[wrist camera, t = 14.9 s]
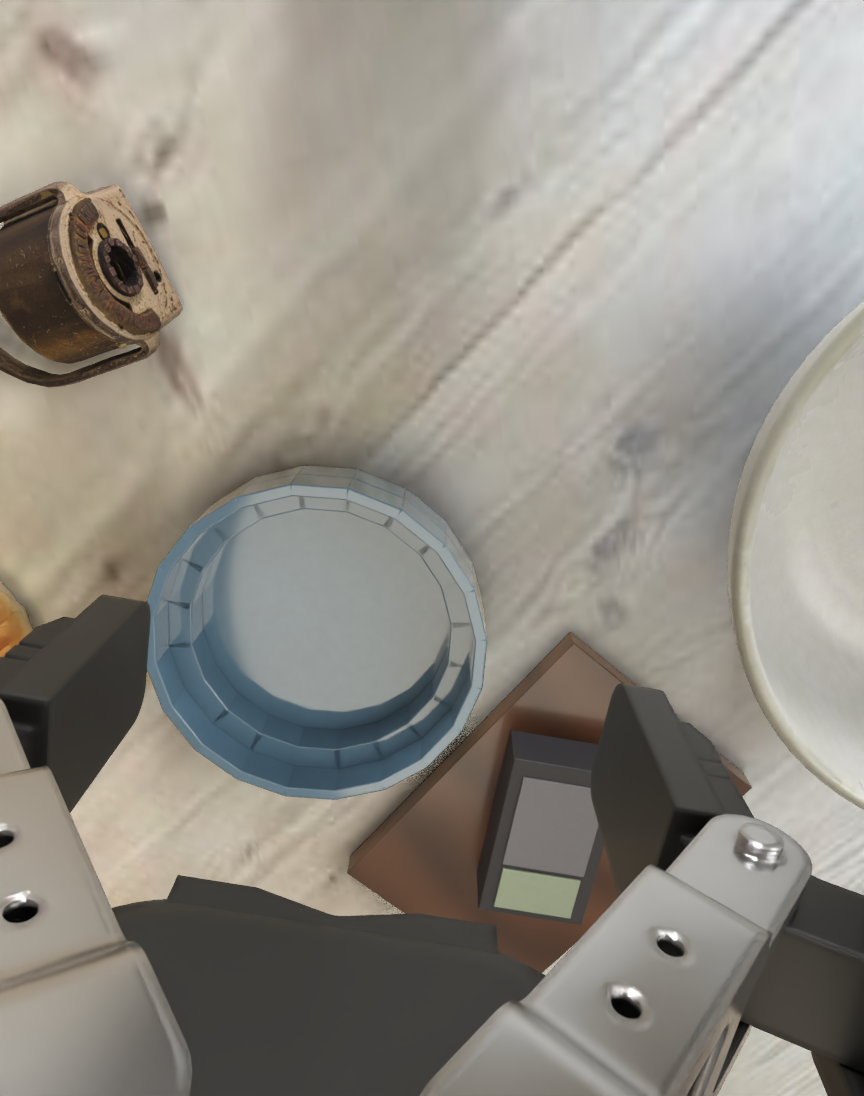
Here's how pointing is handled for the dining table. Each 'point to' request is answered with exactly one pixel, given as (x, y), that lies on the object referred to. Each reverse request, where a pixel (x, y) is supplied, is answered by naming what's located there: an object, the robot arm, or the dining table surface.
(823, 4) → the dining table surface
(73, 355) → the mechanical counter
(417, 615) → the bowl
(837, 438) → the decorative bowl
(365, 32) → the dining table surface
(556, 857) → the calculator
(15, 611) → the pastry
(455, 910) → the board
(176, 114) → the dining table surface
